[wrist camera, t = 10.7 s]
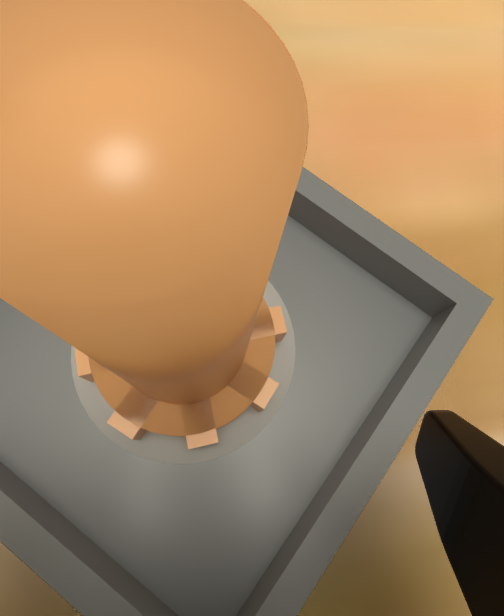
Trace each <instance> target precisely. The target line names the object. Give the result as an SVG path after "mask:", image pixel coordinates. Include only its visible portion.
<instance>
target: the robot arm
mask: <svg viewBox="0 0 504 616" xmlns="http://www.w3.org/2000/svg"><path fill="white" fill-rule="evenodd" d="M415 453H416V458H417V462H418V465H419V469H420V472H421V475H422V479H423V482H424V485H425V489H426V492H427V495H428V499H429V502H430V505H431V509H432V512H433V515H434V519H435V522H436V525H437V529H438V532H439V535H440V538H441V541H442V543H443V546H444V549H445V551H446V554H447V556H448V559H449V561H450V563H451V566H452V568H453V571H454V573H455V576H456V578H457V580H458V583H459V585H460V588H461V590H462V592H463V595H464V597H465V600H466V602H467V604H468V607H469V609H470V612H471V614H472V616H504V446H503V445H501V444H500V443H498V442H497V441H495V440H494V439H492V438H491V437H489V436H488V435H486V434H485V433H483V432H482V431H480V430H479V429H478V428H476V427H475V426H473V425H472V424H470V423H469V422H467V421H466V420H464V419H463V418H461V417H460V416H458V415H457V414H455V413H454V412H452V411H449V410H431V411H428V412H426V414H425V415H424V418H423V421H422V424H421V428H420V431H419V435H418V438H417V441H416V447H415Z"/></svg>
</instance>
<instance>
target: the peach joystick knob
mask: <svg viewBox="0 0 504 616" xmlns="http://www.w3.org/2000/svg"><path fill="white" fill-rule="evenodd" d="M308 128H309V123H308V109H307V101H306V97H305V92H304V88H303V84H302V81H301V78H300V76H299V73H298V70H297V68H296V65H295V63H294V61H293V59H292V57H291V55H290V54H289V52H288V50H287V48H286V47H285V45H284V43H283V42H282V40H281V39H280V38H279V37H278V35H277V34H276V33H275V31H274V30H273V29H272V27H271V26H270V25H269V24H268V23H267V22H266V21H265V20H264V19H263V18H262V17H261V16H260V15H259V14H258V13H257V12H256V11H255V10H254V9H253V8H252V7H250V6H249V5H248V4H247V3H245V2H244V1H243V0H0V298H1V299H2V300H4V301H5V302H7V303H8V304H10V305H11V306H13V307H14V308H16V309H17V310H19V311H20V312H22V313H23V314H25V315H27V316H28V317H30V318H31V319H33V320H34V321H36V322H37V323H39V324H40V325H42V326H43V327H45V328H46V329H48V330H49V331H51V332H52V333H54V334H55V335H57V336H58V337H60V338H61V339H63V340H64V341H66V342H67V343H69V344H70V345H72V346H73V347H74V348H75V356H76V364H77V372H78V376H79V377H81V378H83V379H85V380H87V381H89V382H94V381H95V383H96V385H97V387H98V389H99V391H100V393H101V394H102V396H103V397H104V399H105V400H106V401H107V403H108V404H109V405H110V406H111V407H112V408H113V409H114V410H115V412H114V413H113V414H112V416H111V417H110V419H109V420H108V421H107V423H108V424H110V425H111V426H113V427H114V428H116V429H117V430H118V431H120V432H121V433H123V434H124V435H126V436H127V437H129V438H130V439H132V440H140V439H141V438H142V436H143V435H144V433H145V432H146V431H147V430H148V431H150V432H154V433H158V434H162V435H170V436H186V440H187V446H188V449H192V448H197V447H201V446H205V445H209V444H213V443H218V442H219V441H218V437H217V432H216V430H217V429H219V428H221V427H223V426H225V425H227V424H228V423H230V422H232V421H233V420H235V419H236V418H237V417H238V416H240V415H241V414H242V413H243V412H244V411H245V410H246V409H247V408H248V407H249V406H251V407H253V408H254V409H256V410H257V411H259V412H261V411H262V410H264V408H265V407H266V405H267V404H268V402H269V400H270V399H271V397H272V395H273V394H274V392H275V390H276V389H277V387H278V385H279V383H278V382H276V381H274V380H273V379H271V378H270V377H268V376H269V374H270V371H271V368H272V364H273V360H274V355H275V343H277V342H281V341H282V340H283V338H284V336H285V335H286V333H287V329H286V325H285V321H284V318H283V314H282V310H281V306H275V307H270V308H268V306H267V304H266V302H265V300H264V298H263V295H264V292H265V288H266V285H267V282H268V279H269V275H270V272H271V269H272V266H273V262H274V259H275V256H276V253H277V249H278V246H279V243H280V240H281V236H282V233H283V230H284V227H285V223H286V220H287V217H288V213H289V210H290V207H291V204H292V200H293V197H294V194H295V191H296V187H297V184H298V181H299V178H300V174H301V171H302V167H303V163H304V159H305V154H306V150H307V141H308Z"/></svg>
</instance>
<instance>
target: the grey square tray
mask: <svg viewBox="0 0 504 616" xmlns="http://www.w3.org/2000/svg"><path fill="white" fill-rule="evenodd" d="M263 298H264V300H265V302H266V304H267V306H268V308H270V307H275V306H281V310H282V314H283V318H284V321H285V325H286V329H287V333H286V335H285V336H284V338H283V340H282V341H281V342H277V343H275V355H274V360H273V364H272V368H271V371H270V374H269V376H268V377H270V378H271V379H273V380H274V381H276V382H278V383H279V385H278V387H277V389H276V390H275V392H274V394H273V395H272V397H271V399H270V400H269V402H268V404H267V405H266V407H265V408H264V410H262V411H261V412H259V411H257V410H256V409H254V408H253V407H251V406H249V407H248V408H247V409H246V410H245V411H244V412H243V413H242V414H241V415H240V416H238V417H237V418H236V419H235V420H233V421H232V422H230V423H228V424H227V425H225V426H223V427H221V428H219V429H217V430H216V432H217V437H218V441H219V442H218V443H213V444H209V445H205V446H201V447H197V448H192V449H188V446H187V440H186V436H170V435H162V434H158V433H154V432H150V431H148V430H147V431H146V432H145V433H144V435H143V436H142V438H141V439H140V440H132V439H130V438H129V437H127V436H126V435H124V434H123V433H121V432H120V431H118V430H117V429H116V428H114V427H113V426H111V425H110V424H108V423H107V421H108V420H109V419H110V417H111V416H112V414H113V413H114V412H115V410H114V409H113V408H112V407H111V406H110V405H109V404H108V403H107V401H106V400H105V399H104V397H103V396H102V394H101V393H100V391H99V389H98V387H97V385H96V383H95V381H94V382H89V381H87V380H85V379H83V378H81V377H79V376H78V372H77V364H76V356H75V348H74V347H73V346H72V345H70V344H69V343H67V342H66V341H64V340H63V339H61V338H60V337H58V336H57V335H55V334H54V333H52V332H51V331H49V330H48V329H46V328H45V327H43V326H42V325H40V324H39V323H37V322H36V321H34V320H33V319H31V318H30V317H28V316H27V315H25V314H23V313H22V312H20V311H19V310H17V309H16V308H14V307H13V306H11V305H10V304H8V303H7V302H5V301H4V300H2V299H1V298H0V542H1V543H2V544H3V545H5V546H6V547H7V548H8V549H9V550H10V551H11V552H12V553H14V554H15V555H16V556H17V557H18V558H19V559H20V560H21V561H22V562H24V563H25V564H26V565H27V566H28V567H29V568H30V569H31V570H33V571H34V572H35V573H36V574H37V575H38V576H39V577H40V578H41V579H43V580H44V581H45V582H46V583H47V584H48V585H49V586H50V587H52V588H53V589H54V590H55V591H56V592H57V593H58V594H59V595H60V596H62V597H63V598H64V599H65V600H66V601H67V602H68V603H69V604H71V605H72V606H73V607H74V608H75V609H76V610H77V611H78V612H79V613H81V614H82V615H83V616H297V615H298V614H299V612H300V610H301V609H302V607H303V606H304V604H305V602H306V601H307V599H308V598H309V596H310V594H311V593H312V591H313V589H314V588H315V586H316V585H317V583H318V581H319V580H320V578H321V577H322V575H323V573H324V572H325V570H326V568H327V567H328V565H329V564H330V562H331V560H332V559H333V557H334V556H335V554H336V552H337V551H338V549H339V547H340V546H341V544H342V543H343V541H344V539H345V538H346V536H347V535H348V533H349V531H350V530H351V528H352V527H353V525H354V523H355V522H356V520H357V518H358V517H359V515H360V514H361V512H362V510H363V509H364V507H365V506H366V504H367V502H368V501H369V499H370V497H371V496H372V494H373V493H374V491H375V489H376V488H377V486H378V485H379V483H380V481H381V480H382V478H383V477H384V475H385V473H386V472H387V470H388V468H389V467H390V465H391V464H392V462H393V460H394V459H395V457H396V456H397V454H398V452H399V451H400V449H401V447H402V446H403V444H404V443H405V441H406V439H407V438H408V436H409V435H410V433H411V431H412V430H413V428H414V427H415V425H416V423H417V422H418V420H419V418H420V417H421V415H422V414H423V412H424V410H425V409H426V407H427V406H428V404H429V402H430V401H431V399H432V397H433V396H434V394H435V393H436V391H437V389H438V388H439V386H440V385H441V383H442V381H443V380H444V378H445V377H446V375H447V373H448V372H449V370H450V368H451V367H452V365H453V364H454V362H455V360H456V359H457V357H458V356H459V354H460V352H461V351H462V349H463V347H464V346H465V344H466V343H467V341H468V339H469V338H470V336H471V335H472V333H473V331H474V330H475V328H476V327H477V325H478V323H479V322H480V320H481V318H482V317H483V315H484V314H485V312H486V310H487V309H488V307H489V306H490V304H491V302H492V301H493V298H491V297H490V296H488V295H487V294H485V293H484V292H483V291H481V290H480V289H478V288H477V287H475V286H474V285H472V284H471V283H470V282H468V281H467V280H465V279H464V278H462V277H461V276H460V275H458V274H457V273H455V272H454V271H452V270H451V269H449V268H448V267H447V266H445V265H444V264H442V263H441V262H439V261H438V260H436V259H435V258H434V257H432V256H431V255H429V254H428V253H426V252H425V251H423V250H422V249H421V248H419V247H418V246H416V245H415V244H413V243H412V242H410V241H409V240H408V239H406V238H405V237H403V236H402V235H400V234H399V233H397V232H396V231H395V230H393V229H392V228H390V227H389V226H387V225H386V224H384V223H383V222H382V221H380V220H379V219H377V218H376V217H374V216H373V215H372V214H370V213H369V212H367V211H366V210H364V209H363V208H361V207H360V206H359V205H357V204H356V203H354V202H353V201H351V200H350V199H348V198H347V197H346V196H344V195H343V194H341V193H340V192H338V191H337V190H335V189H334V188H333V187H331V186H330V185H328V184H327V183H325V182H324V181H322V180H321V179H320V178H318V177H317V176H315V175H314V174H312V173H311V172H309V171H308V170H307V169H305V168H304V167H302V171H301V174H300V178H299V181H298V184H297V187H296V191H295V194H294V197H293V200H292V204H291V207H290V210H289V213H288V217H287V220H286V223H285V227H284V230H283V233H282V236H281V240H280V243H279V246H278V249H277V253H276V256H275V259H274V262H273V266H272V269H271V272H270V275H269V279H268V282H267V285H266V288H265V292H264V295H263Z"/></svg>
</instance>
